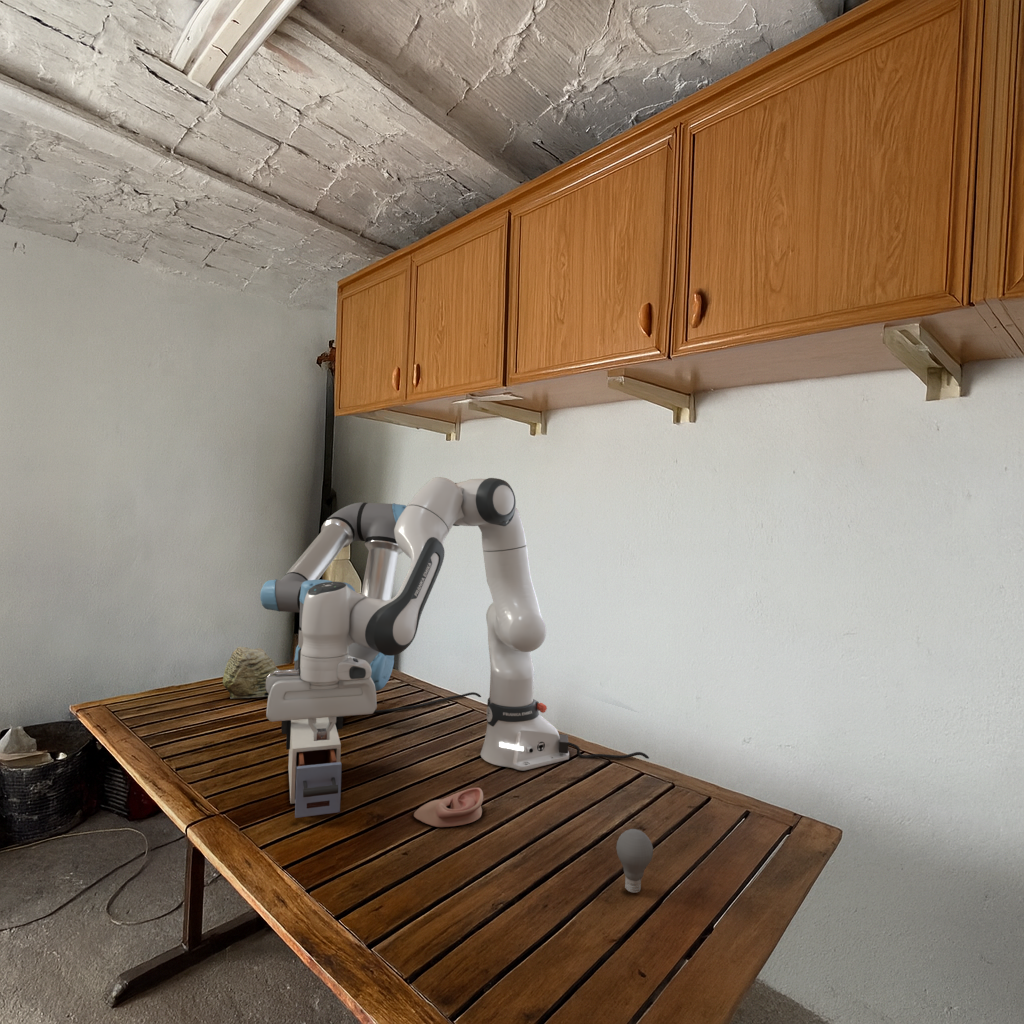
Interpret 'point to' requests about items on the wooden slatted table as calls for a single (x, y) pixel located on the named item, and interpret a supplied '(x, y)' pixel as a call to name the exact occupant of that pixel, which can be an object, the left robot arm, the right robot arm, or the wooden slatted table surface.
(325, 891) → the wooden slatted table surface
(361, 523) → the left robot arm
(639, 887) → the light bulb
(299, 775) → the drawer
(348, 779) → the wooden slatted table surface
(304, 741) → the cabinet
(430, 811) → the anatomical model
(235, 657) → the fossil
